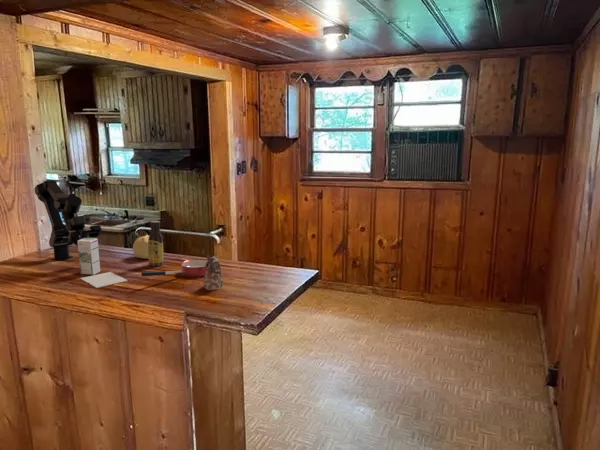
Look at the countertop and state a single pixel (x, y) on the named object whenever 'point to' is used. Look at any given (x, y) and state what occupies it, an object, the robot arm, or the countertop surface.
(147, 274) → the frying pan
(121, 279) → the mat
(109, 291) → the countertop surface
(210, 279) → the figurine
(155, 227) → the sauce bottle
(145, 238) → the tan rounded lump
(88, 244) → the syrup box
